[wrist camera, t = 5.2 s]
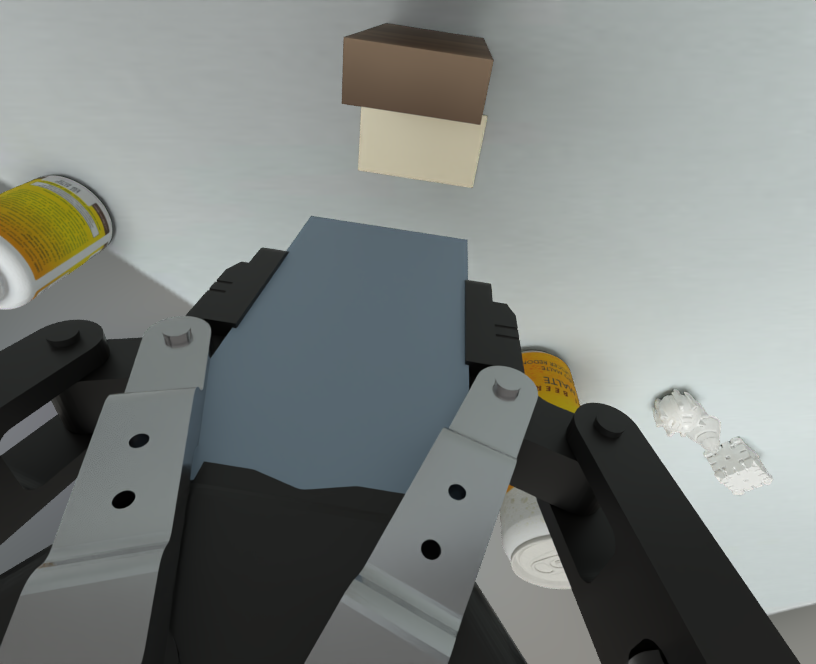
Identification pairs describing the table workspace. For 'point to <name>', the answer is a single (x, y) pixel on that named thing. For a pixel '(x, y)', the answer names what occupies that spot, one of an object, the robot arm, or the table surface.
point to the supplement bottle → (47, 235)
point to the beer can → (520, 510)
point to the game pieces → (712, 442)
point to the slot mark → (419, 147)
